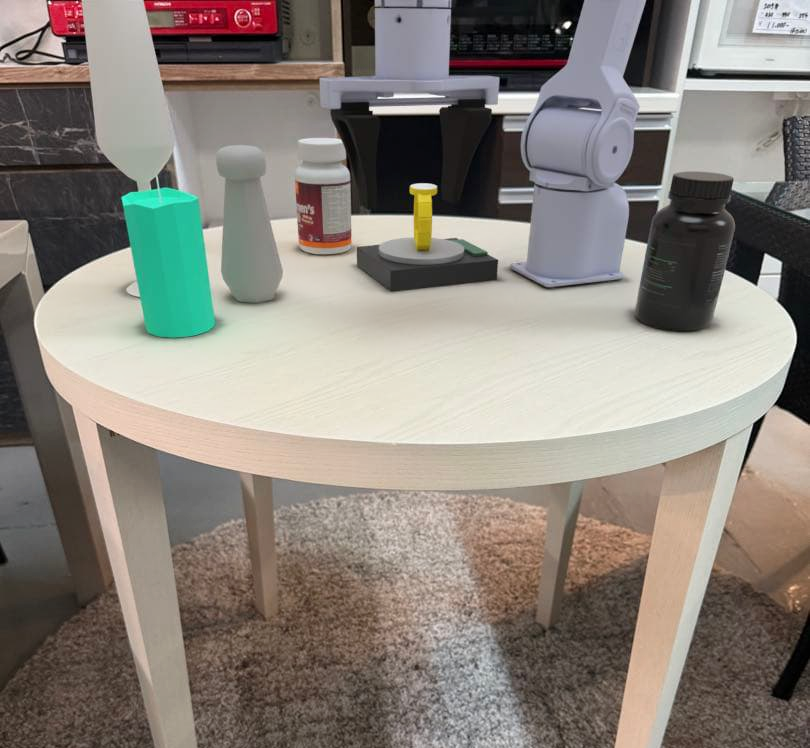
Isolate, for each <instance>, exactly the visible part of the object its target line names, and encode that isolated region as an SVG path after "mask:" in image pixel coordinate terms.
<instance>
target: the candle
mask: <svg viewBox="0 0 810 748" xmlns="http://www.w3.org/2000/svg"><path fill="white" fill-rule="evenodd" d="M155 180H156V185H157V186H156V187H157V188H155V189H151V190H148V191H139V192H138V191H130V192H128V193H127V194H125V195H123V196H121V202H122V209H123V213H124V219H125V223H126V230H127V234H128V235H127V236H128V238H129V246H130V250H131V257H132V260H133V262H132V263H133V267H134V272H135V277H136V280H137V283H138V289H139V294H140V297H139V298H140V299H139V300H140V304H141V311H142V314H143V315H142V316H143V320H144V327H145V330H146V333H147V334H150V335H153V336H155V337H159V338H160V337H161V338H173V339H176V338H185V337H194V336H197V335H200V334H204V333H208V332H210V331H211V330H212V329H213V328H214V327H215V326H216V320H215V313H214V305H213V297H212V290H211V282H210V275H209V268H208V259H207V253H206V252H207V251H206V246H205V245H206V244H205V237H204V229H203V222H202V216H201V215H202V214H201V206H200V199H199V198H198V196H197V195H193V194H192V193H188V192H186V191H183V190H178V189H174V188H170V187H161V188H160V181H159V175H157V176H156V177H155Z"/></svg>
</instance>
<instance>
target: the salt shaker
mask: <svg viewBox="0 0 810 748" xmlns="http://www.w3.org/2000/svg"><path fill="white" fill-rule="evenodd" d="M215 154H216V157H215V158H216V159H215V162H216V163H215V164H216V168H217V172H218V174H219V176H220V177H222V178H224V196H223V215H222V217H223V218H222V236H221V237H222V238H221V257H220V263H221V264H220V272H221V273H220V274H221V276H222V280H223V282H224V283H225V285H226V287H227V288H228V289H229V292H230V293H231V295H232V297H233V298H234V299H235V300H236V301H237V302H239V303H250V304H252V303H253V304H258V303H263V302H267V301H272V300H274V298H275V296H276V293H277V291H278V289H279V286H280V283H281V281H282V279H283V272H284V270H283V266H282V263H281V262H282V261H281V259H280V254H279V251H278V247H277V243H276V240H275V235H274V230H273V227H272V222H271V219H270V214H269V210H268V206H267V202H266V198H265V194H264V190H263V185H262V181H261V177H263V176H265V175H266V172H267V163H266V157H265V154H264V152H263V151H262V150H261V149H260V148H259V147H256V146H254V145H249V144H248V145H246V144H237V145H236V144H235V145H227V146H225V147H222V148H219V149H218V151H217V152H216V153H215Z"/></svg>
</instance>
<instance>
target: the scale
mask: <svg viewBox="0 0 810 748" xmlns="http://www.w3.org/2000/svg"><path fill="white" fill-rule="evenodd" d="M356 266H357V267H358V268H359V269H361V270H362V271H363V272H365V273H366V274H368V275H369V277H371V278H373V280H375V281H377V282H378V283H379V284H381V285H382V286H383V287H385V288H386V289H387V290H389V291H390V292H397V291H405V290H414V289H421V288H423V289H424V288H431V287H440V286H451V285H456V284H457V285H459V284H467V283H476V282H485V281H495V280H497V279H498V267H499V259H497V258H495V257H493V256H492V255H490V254H489V252H488V251H487V250H484V249H483V248H480V247H478V246H477V245H476V244H473V243H471V242H469V241H468V240H465V239H463V238H461V239H459V238H457V237H451V238H437V237H431V245H430V249H429V250H416V245H415V242H414V236H413V237H401V238H394V239H390V240H387V241H386V240H385V241H384V242H382V243H380V244H373V245H361V246H356Z"/></svg>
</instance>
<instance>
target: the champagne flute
mask: <svg viewBox="0 0 810 748" xmlns="http://www.w3.org/2000/svg"><path fill="white" fill-rule="evenodd" d="M81 8H82V16H83V17H82V18H83V26H84V27H83V28H84V35H85V45H86V55H87V62H88V73H89V81H90V91H91V100H92V109H93V118H94V125H95V126H94V127H95V137H96V143H97V145H98V148H99V149H100V151H101V152H102V154H103V155H104V156H105V157H106V159H107V160H108V161H109V163H111V164H112V165H113V166H114V167H116V168H117V169H118V170H119V171H121V172H122V173H123V174H124V175H125V176H126V177H128V178H129V179H130V180H133V181H135V182H136V185H137V192H139V191H148V190H152V185H151V181H152V180H153V179H156V176H159V174H160V173H161V172H162V169H164V167H165V166H166V164H167V163H168V162H169V160H170V158H171V156H172V155H173V151H174V149H175V146H176V138H175V133H174V129H173V125H172V120H171V116H170V112H169V106H168V103H167V98H166V94H165V89H164V85H163V81H162V76H161V72H160V67H159V64H158V58H157V55H156V51H155V50H156V49H155V46H154V41H153V36H152V32H151V28H150V24H149V19H148V14H147V10H146V5H145V2H144V0H81ZM125 291H126V293H127V294H129V295H131V296H133V297H138V298H140V294H139V289H138V283H137V279H136V280H134V282H132V283H131V284H130V285H129V286H127V288H126V290H125Z"/></svg>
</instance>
